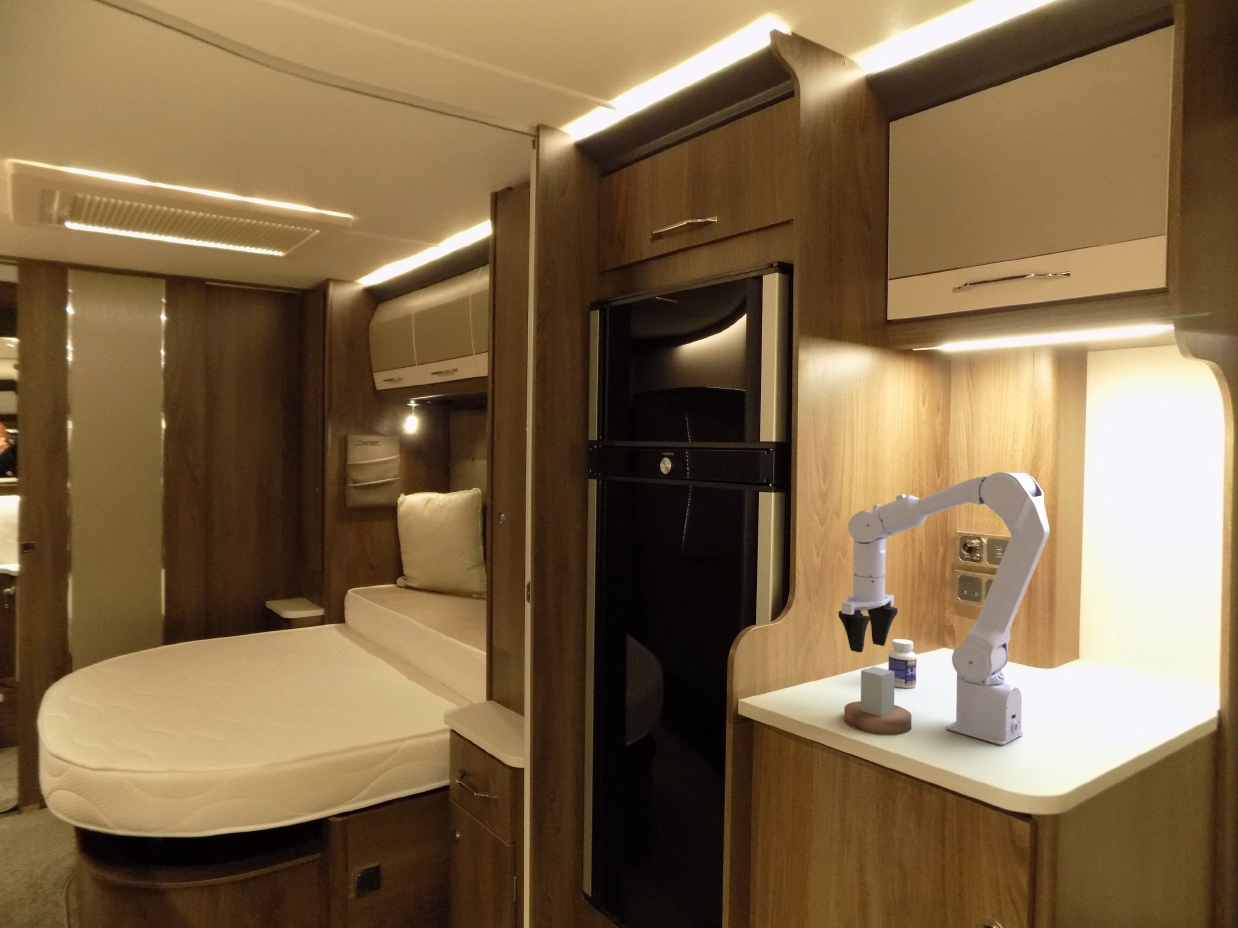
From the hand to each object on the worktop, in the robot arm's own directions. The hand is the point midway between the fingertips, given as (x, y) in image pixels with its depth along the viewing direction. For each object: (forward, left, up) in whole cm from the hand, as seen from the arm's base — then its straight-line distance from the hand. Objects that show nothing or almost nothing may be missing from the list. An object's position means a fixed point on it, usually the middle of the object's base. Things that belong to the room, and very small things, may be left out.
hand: (867, 647), depth 141 cm
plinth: (-7, +8, -10) cm, 15 cm away
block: (-7, +8, -8) cm, 13 cm away
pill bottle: (+2, -16, -11) cm, 20 cm away
